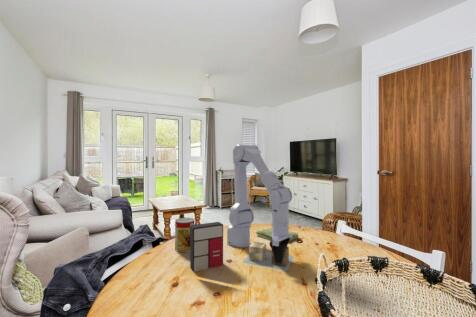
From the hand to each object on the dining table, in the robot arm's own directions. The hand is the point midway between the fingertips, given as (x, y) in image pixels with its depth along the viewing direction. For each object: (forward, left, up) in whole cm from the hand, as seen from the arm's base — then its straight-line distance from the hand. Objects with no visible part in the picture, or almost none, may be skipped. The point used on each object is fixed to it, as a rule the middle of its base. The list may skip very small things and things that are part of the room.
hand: (280, 259), depth 83 cm
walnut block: (0, 0, -1) cm, 1 cm away
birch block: (-9, 0, -1) cm, 9 cm away
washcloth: (-8, +29, -2) cm, 30 cm away
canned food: (-41, -1, -2) cm, 41 cm away
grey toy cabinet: (-23, -13, -2) cm, 26 cm away
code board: (-5, +1, -2) cm, 5 cm away
